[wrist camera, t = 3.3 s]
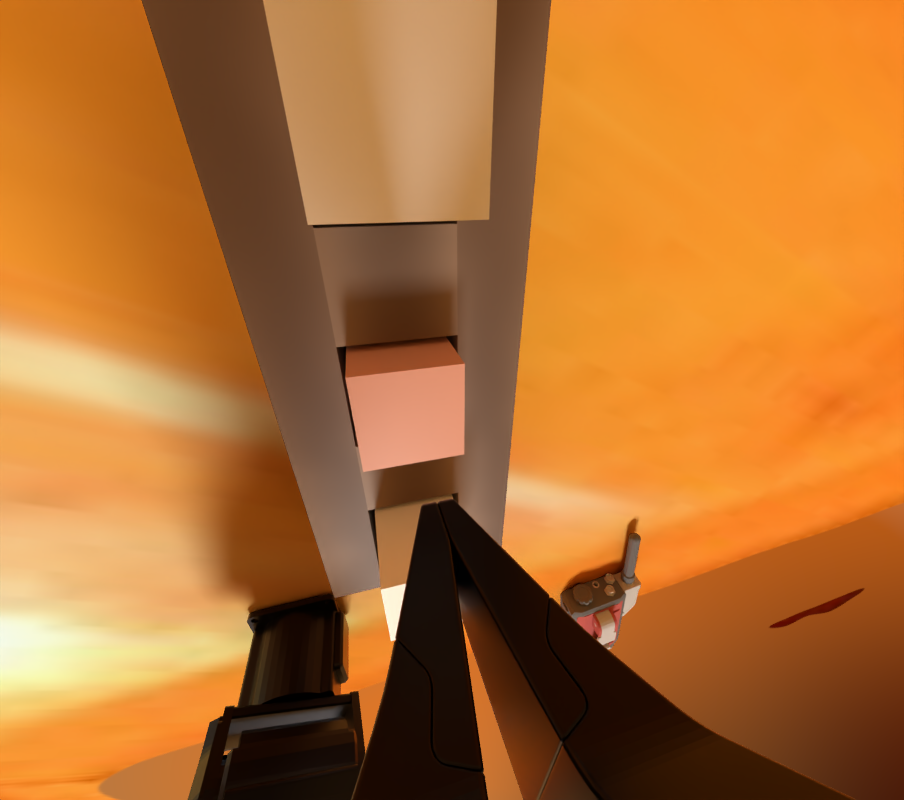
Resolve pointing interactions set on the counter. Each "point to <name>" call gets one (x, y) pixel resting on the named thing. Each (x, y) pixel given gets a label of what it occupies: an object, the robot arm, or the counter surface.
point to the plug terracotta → (406, 401)
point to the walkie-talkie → (605, 599)
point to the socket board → (359, 272)
